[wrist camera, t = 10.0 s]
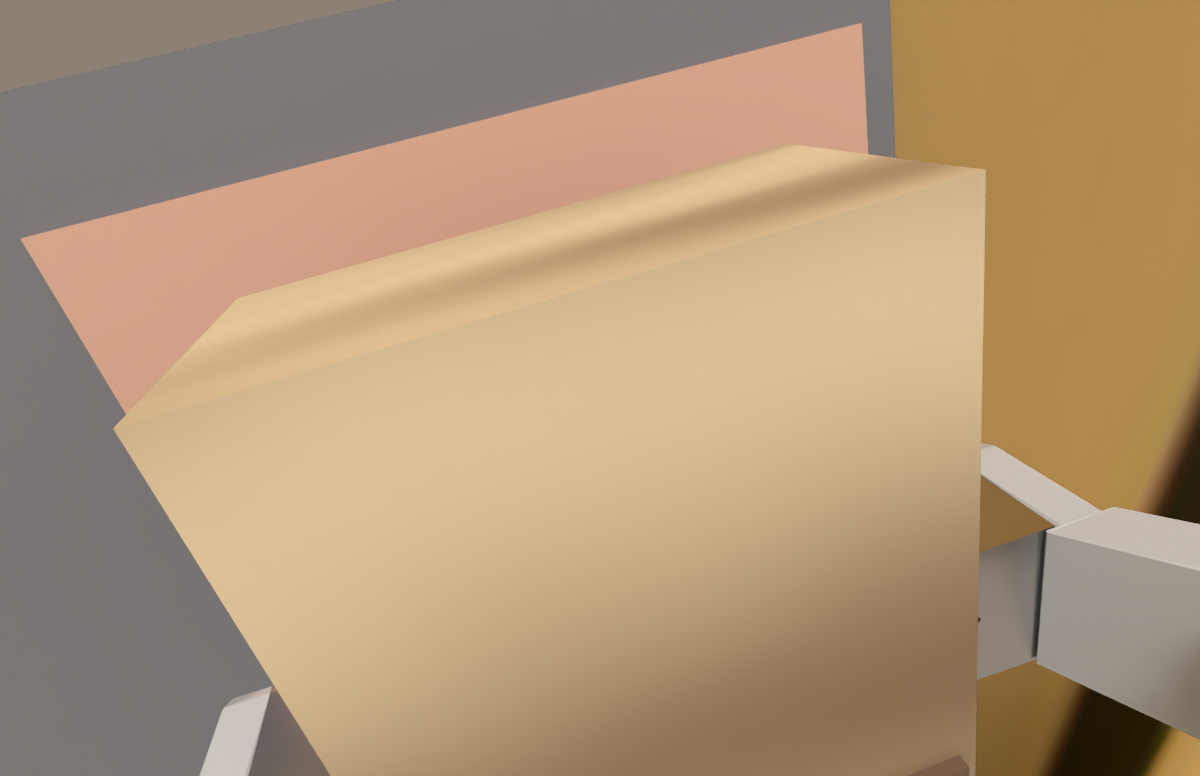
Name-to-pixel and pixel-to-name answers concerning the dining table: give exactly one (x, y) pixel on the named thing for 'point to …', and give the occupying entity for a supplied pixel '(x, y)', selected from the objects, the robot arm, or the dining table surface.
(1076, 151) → the dining table surface
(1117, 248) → the dining table surface
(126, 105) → the mat
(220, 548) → the beige curved block
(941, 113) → the dining table surface
